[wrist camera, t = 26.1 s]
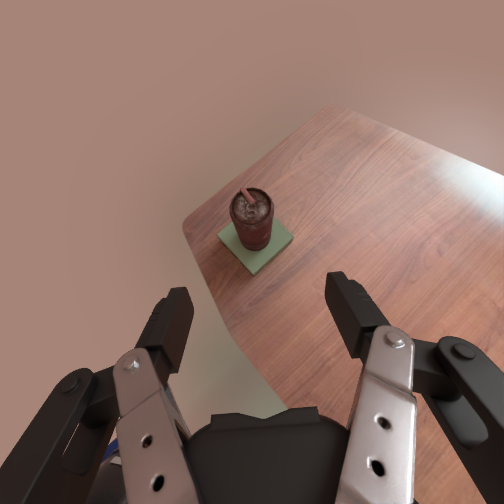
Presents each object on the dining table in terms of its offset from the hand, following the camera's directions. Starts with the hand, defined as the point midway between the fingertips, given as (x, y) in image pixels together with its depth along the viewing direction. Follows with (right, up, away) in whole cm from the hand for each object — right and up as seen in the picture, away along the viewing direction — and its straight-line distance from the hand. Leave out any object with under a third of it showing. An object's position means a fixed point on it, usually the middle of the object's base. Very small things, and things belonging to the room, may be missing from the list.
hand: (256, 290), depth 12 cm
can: (0, +5, +29) cm, 29 cm away
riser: (+1, +5, +32) cm, 33 cm away
